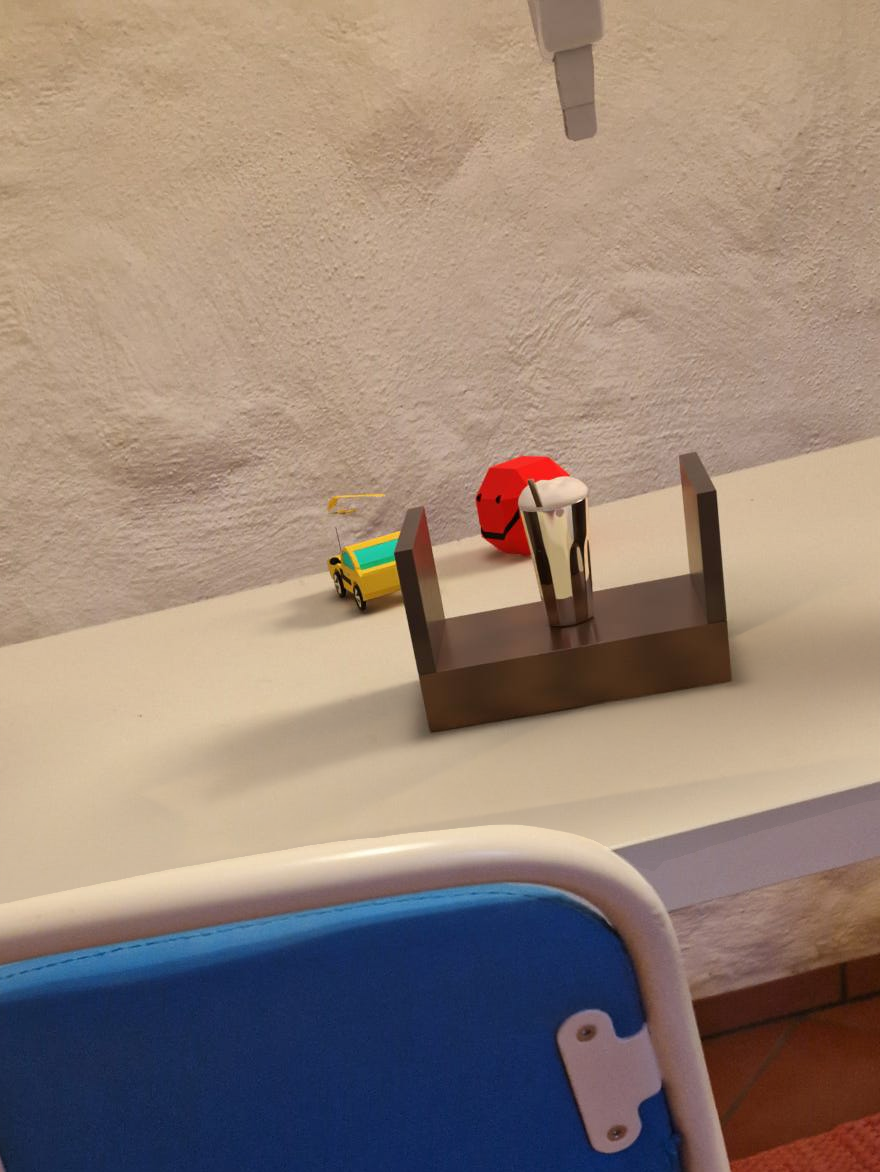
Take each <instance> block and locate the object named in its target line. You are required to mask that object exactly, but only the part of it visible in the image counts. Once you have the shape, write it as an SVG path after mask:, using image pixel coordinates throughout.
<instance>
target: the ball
mask: <svg viewBox="0 0 880 1172" xmlns="http://www.w3.org/2000/svg"><path fill="white" fill-rule="evenodd" d="M565 476H567V477H571V475H570V473H569V472H568V471H566V470H565V469H564V468H562V466H561V465H559V464H558V463H557V462H555V461H554V460H553V459H552V458H551V457H550V456H540V455H539V456H536V455H520V456H517V457H514V458H512V459H509V460H507V461H506V460H505V461H503V462H500V463H498V464H495V465H492V466H490V467H488V470H487V471H486V473H485V476H484V478H483V480H482V482H481V484H480V487H479V489H478V491H477V493H476V495H475V497H474V500H475V506H476V511H477V512H476V513H477V517H478V523H479V526H480V535H481V538H482V539H483V540H485V541H487V542H488V543H489V544H491V546H493V548H494V547H495V548H496V549H498V551H500V552H501V553H502V554H508V555H516V556H523V557H531V552H530V548H529V544H528V540H527V537H526V533H525V529H524V525H523V521H522V517H521V513H520V509H519V506H518V500H519V497H520V495H521V493H522V491H523V490H524V488H525V487H527V486H528V485H529V484H528V481H527V480H528V479H534V481H535V483H536V482H538V481H540V480H552V479H555V478H558V477H565Z"/></svg>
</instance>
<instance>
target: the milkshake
mask: <svg viewBox="0 0 880 1172" xmlns="http://www.w3.org/2000/svg"><path fill="white" fill-rule="evenodd" d="M527 481H528V484H529V485H528V486H527V487H525V488H524V490H523V491H522V493H521V495H520V497H519V500H518V506H519V509H520V513H521V517H522V521H523V525H524V529H525V533H526V537H527V540H528V544H529V548H530V552H531V556H530V557H531V560H532V566H533V570H534V575H535V579H536V583H537V588H538V592H539V597H540V601H542V606H543V610H544V615H545V619H546V622H547V623H548V624H549V625H550V626H560V627H562V626H569V625H575V624H578V623H581V622H584V621H587V620H589V619H590V618H591V617H592V616H593V615H594V604H593V591H594V590H593V588H594V587H593V573H592V572H593V571H592V556H591V542H590V541H591V540H590V539H591V538H590V515H589V513H590V512H589V510H590V509H589V488H588V486H587V485H586V484H585V483H584V482H582V481H581V480H580V479H577V478H574V477H572V476H570V477H567V476H565V477H558V478H555V479H552V480H540V481H538V482H536V483H535V481H534V479H528V480H527Z"/></svg>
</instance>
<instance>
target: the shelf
mask: <svg viewBox="0 0 880 1172" xmlns="http://www.w3.org/2000/svg"><path fill="white" fill-rule="evenodd" d="M678 462H679V472H680V473H679V474H680V482H681V494H682V495H681V496H682V503H683V515H684V527H685V535H686V536H685V539H686V547H687V549H686V550H687V558H688V570H689V573H687V574H686V573H685V574H681V575H676V576H670V577H665V578H660V579H654V580H648V581H643V582H638V583H631V584H627V585H626V584H625V585H621V586H614V587H610V588H604V589H599V590H593V604H594V615H593V616H592V617H591V618H590V619H589V620H587V621H584V622H581V623H578V624H575V625H569V626H562V627H560V626H550V625H549V624H548V623H547V622H546V619H545V615H544V610H543V606H542V601H541V600H540V601H534V602H530V603H523V604H518V605H512V606H506V607H502V608H497V609H491V610H486V611H480V612H479V611H478V612H474V613H468V614H463V615H457V616H452V617H447V618H446V616H445V610H444V606H443V605H444V604H443V600H442V595H441V588H440V585H439V584H440V583H439V578H438V572H437V567H436V563H435V558H434V557H435V556H434V552H433V551H434V550H433V545H432V541H431V536H430V530H429V526H428V520H427V514H426V509H425V505H421V506H416V507H411V508H407V510H406V512H405V516H404V519H403V522H402V526H401V528H400V530H399V531H400V535H399V538H398V541H397V544H396V547H395V550H394V557H395V562H396V567H397V572H398V577H399V582H400V587H401V590H400V591H401V595H402V601H403V607H404V611H405V616H406V620H407V625H408V631H409V636H410V641H411V645H412V650H413V655H414V656H413V657H414V660H415V666H416V671H417V675H418V681H419V685H420V691H421V695H422V700H423V704H424V708H425V709H424V710H425V715H426V720H427V725H428V730H429V732H430V733H433V732H439V731H445V730H450V729H457V728H462V727H469V726H474V725H480V724H486V723H492V722H498V721H504V720H510V719H516V718H522V717H526V716H527V717H528V716H533V715H539V714H546V713H552V712H556V711H562V710H568V709H569V710H570V709H574V708H575V709H576V708H580V707H587V706H592V705H597V704H604V703H611V702H615V701H621V700H626V699H627V700H629V699H632V698H640V697H645V696H651V695H656V694H657V695H658V694H662V693H668V692H673V691H674V692H675V691H681V690H687V689H691V688H698V687H703V686H711V685H716V684H722V683H727V682H732V680H733V679H732V678H733V675H732V664H731V652H730V651H731V650H730V641H729V627H728V617H727V615H728V614H727V603H726V591H725V590H726V589H725V579H724V566H723V565H724V564H723V554H722V553H723V552H722V541H721V528H720V527H721V526H720V515H719V505H718V503H719V502H718V491H717V488H716V487H715V485H714V483H713V481H712V479H711V477H710V475H709V473H708V471H707V470H706V467H705V465H704V464H703V461H702V460H701V458H700V456H699V454H698V452H697V451H692V452H688V453H682V454H679V455H678Z"/></svg>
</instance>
